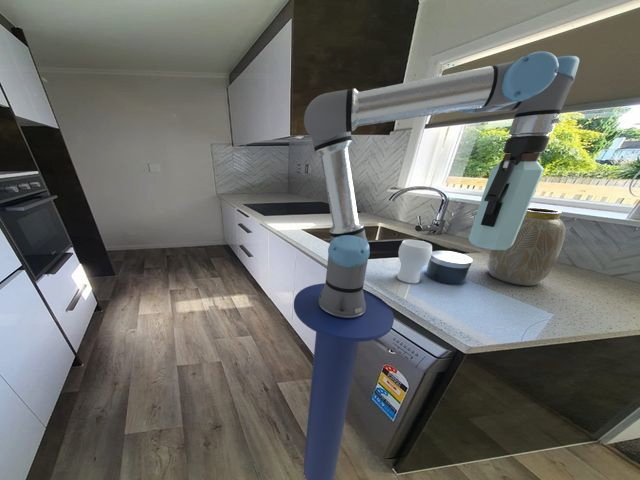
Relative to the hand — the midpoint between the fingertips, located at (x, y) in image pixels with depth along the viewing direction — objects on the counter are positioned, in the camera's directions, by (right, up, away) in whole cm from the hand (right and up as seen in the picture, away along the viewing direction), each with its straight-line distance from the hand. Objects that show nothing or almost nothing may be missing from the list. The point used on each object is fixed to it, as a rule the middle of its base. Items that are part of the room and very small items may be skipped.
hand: (496, 223), depth 69 cm
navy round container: (+8, -18, +29) cm, 35 cm away
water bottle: (0, -6, +3) cm, 7 cm away
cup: (-8, -19, +28) cm, 35 cm away
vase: (+33, -18, +27) cm, 47 cm away
